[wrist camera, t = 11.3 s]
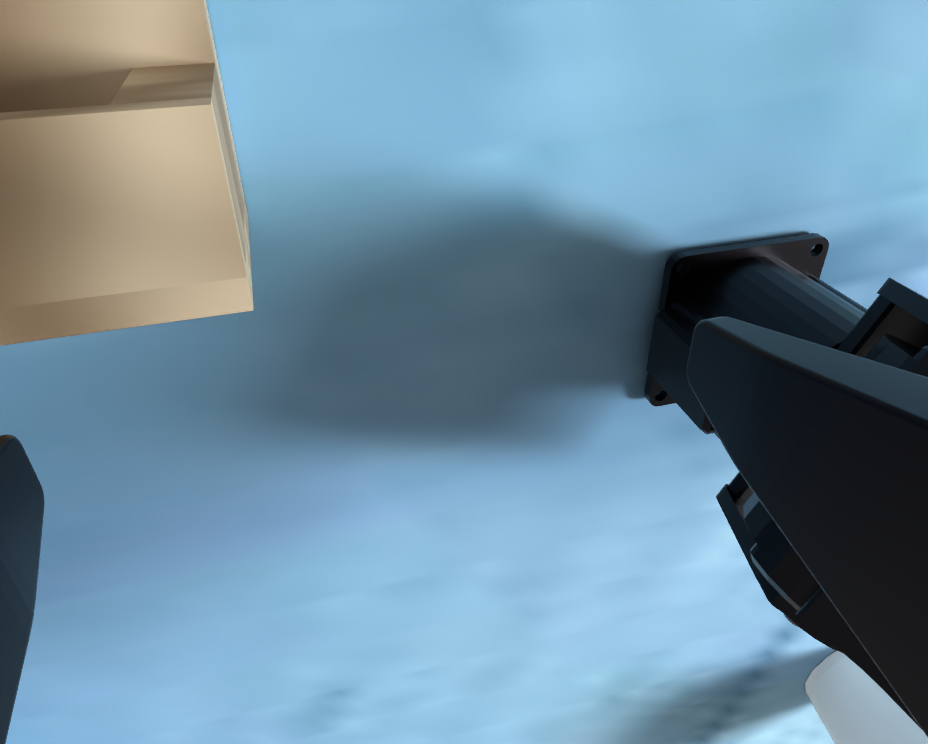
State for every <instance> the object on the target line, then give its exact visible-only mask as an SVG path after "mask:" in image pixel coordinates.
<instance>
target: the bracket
mask: <svg viewBox="0 0 928 744" xmlns="http://www.w3.org/2000/svg"><path fill="white" fill-rule="evenodd" d="M246 311H253V292H252V275H251V258H250V241H249V224H248V213H247V208H246V203H245V197H244V192H243V187H242V182H241V177H240V172H239V167H238V162H237V157H236V152H235V146H234V141H233V136H232V131H231V126H230V121H229V116H228V111H227V106H226V101H225V95H224V90H223V85H222V80H221V75H220V70H219V65H218V60H217V55H216V50H215V44H214V39H213V34H212V29H211V24H210V19H209V14H208V9H207V4H206V0H0V345H8V344H15V343H22V342H29V341H36V340H44V339H51V338H58V337H65V336H73V335H80V334H87V333H94V332H101V331H109V330H116V329H123V328H130V327H138V326H145V325H152V324H159V323H167V322H174V321H181V320H188V319H195V318H203V317H210V316H217V315H224V314H232V313H239V312H246Z"/></svg>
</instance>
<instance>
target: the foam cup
mask: <svg viewBox="0 0 928 744" xmlns="http://www.w3.org/2000/svg"><path fill="white" fill-rule="evenodd" d="M805 688H806V693H807V695H808V696H809V698H810V699H811V703H812V705H813V706H814V708H815V710H816V712H817V713H818V715H819V717H820V719H821V720H822V722H823V724H824V726H825V727H826V729H827V731H828V733H829V734H830V736H831V738H832V740H833V741H834V743H835V744H928V737H927V736H926V734H925V733H924V732H923V730H922V729H921V728H920V727H919V726H918V725H917V724H916V723H915V722H914V721H913V720H912V719H911V718H910V717H909V716H908V715H907V714H906V713H905V712H904V711H903V710H902V709H901V708H900V707H899V706H898V705H897V704H896V703H895V702H894V701H893V700H892V699H891V697H890V696H889V695H888V694H887V693H886V692H885V691H884V690H883V689H882V688H881V687H880V686H879V685H878V684H877V683H876V682H875V681H874V680H873V679H871V678H870V677H869V676H868V675H867V674H866V673H865V672H864V671H863V670H862V669H861V668H860V667H859V666H857V665H856V664H855V663H854V662H853V661H852V660H850V659H849V658H848V657H847V656H846V655H845V654H843V653H841V652H839V651H836V652H834V653H832V654H831V655H829V656H827V657H826V658H825V659H824V660H823V661H822V662H821V663H820V664H819V665H818V666H817V667H816V668H815V669H813V671H812V672H811V674H810V676H809V677H808V679H807V681H806V682H805Z"/></svg>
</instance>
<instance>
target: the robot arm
mask: <svg viewBox="0 0 928 744" xmlns="http://www.w3.org/2000/svg"><path fill="white" fill-rule="evenodd" d="M814 246H815V247H814ZM813 247H814V249H812V248H813ZM828 247H829V243H828V240H827V239H826V238H824V237H823V236H821V235H819V234H816V233H811V234H804V235H797V236H790V237H782V238H775V239H768V240H761V241H753V242H746V243H739V244H732V245H725V246H717V247H710V248H703V249H696V250H688V251H681V252H678V253H675V254H673V255H672V256H671V257H670V258H669V259H668V261H667V263H666V266H665V271H664V277H663V283H662V289H661V296H660V302H659V308H658V312H657V314H656V316H655V320H654V326H653V333H652V339H651V345H650V351H649V357H648V364H647V371H648V376H647V382H646V388H645V397H646V398H647V400H648V401H649V402H650V403H651V404H652V405H654V406H662V405H667V404H672V403H677V404H678V405H679V407H680V408H681V409H682V410H683V411H684V412H685V413H686V414H687V415H688V416H689V418H690V419H691V420H692V421H693V422H694V423H695V424H696V425H697V426H698V427H699V429H700V430H702V431H703V432H704V433H706V434H710V433H715V434H716V436H717V437H718V438H719V439H720V440H721V442H722V444H723V445H724V447H725V449H726V451H727V453H728V454H729V456H730V458H731V459H732V461H733V463H734V464H735V466H736V467H737V469H738V470H739V473H738V474H737V475H736V476H735V478H734V479H733V480H732V482H731V483H730V484H729V485H728V484H726V485H725V486H724V487H723V488H722V490H721V491H720V492H719V493H718V495H717V496H716V498H717V500H718V502H719V504H720V506H721V508H722V510H723V512H724V514H725V516H726V518H727V520H728V522H729V524H730V526H731V529H732V531H733V533H734V535H735V537H736V539H737V541H738V543H739V545H740V547H741V549H742V551H743V553H744V555H745V557H746V559H747V561H748V563H749V565H750V567H751V569H752V571H753V573H754V575H755V577H756V579H757V580H758V582H759V584H760V586H761V588H762V590H763V592H764V594H765V595H766V597H767V599H768V601H769V602H770V603H771V604H772V605H773V606H774V607H776V608H777V609H778V610H780V611H781V612H783V613H784V615H785V617H786V618H787V619H788V620H789V621H790V622H791V623H792V624H794V625H795V626H798V627H800V628H801V629H803V630H804V631H805V632H807V633H808V634H809V635H811V636H812V637H813V638H815V639H817V640H818V641H820V642H822V643H823V644H825V645H827V646H828V647H830V648H832V649H835V650H837V651H839V652H841V653H843V654H845V655H846V656H847V657H848V658H849V659H850V660H852V661H853V662H854V663H855V664H856V665H857V666H859V667H860V668H861V669H862V670H863V671H864V672H865V673H866V674H867V675H868V676H869V677H870V678H871V679H873V680H874V681H875V682H876V683H877V684H878V685H879V686H880V687H881V688H882V689H883V690H884V691H885V692H886V693H887V694H888V695H889V696H890V697H891V699H892V700H893V701H894V702H895V703H896V704H897V705H898V706H899V707H900V708H901V709H902V710H903V711H904V712H905V713H906V714H907V715H908V716H909V717H910V718H911V719H912V720H913V721H914V722H915V723H916V724H917V725H918V726H919V727H920V728H921V729H922V730H923V732H924V733H925V734H926V736H927V737H928V298H926V297H924V296H923V295H921V294H919V293H917V292H915V291H913V290H911V289H910V288H908V287H906V286H904V285H902V284H900V283H898V282H897V281H895V280H893V279H891V278H888V280H887V281H886V282H885V283H884V285H883V286H882V287H881V288H880V290H879V291H878V292H877V293H878V294H880V295H879V296H878V297H877V299H876V300H875V301H874V303H873V304H872V305H871V306H870V308H869V309H868V310H867V309H866V308H864V307H863V306H861V305H859V304H858V303H856V302H855V301H853V300H851V299H850V298H848V297H847V296H845V295H843V294H842V293H840V292H839V291H837V290H836V289H834V288H832V287H831V286H829V285H828V284H826V283H824V282H823V281H821V280H820V279H819V278H820V274H821V271H822V268H823V264H824V261H825V258H826V254H827V251H828ZM683 263H684V266H683V268H682V269H681V270H679V271H677V269H678V267H679V266H680V265H681V264H683ZM660 391H661V392H660ZM658 392H660V393H659V394H658V395H656V394H657V393H658ZM43 514H44V494H43V490H42V486H41V484H40V482H39V480H38V478H37V475H36V473H35V471H34V469H33V467H32V465H31V463H30V461H29V459H28V457H27V455H26V453H25V450H24V448H23V446H22V444H21V443H20V441H19V440H18V439H17V438H16V437H14V436H12V435H1V436H0V744H5V743H6V738H7V734H8V730H9V725H10V721H11V716H12V712H13V708H14V703H15V699H16V694H17V690H18V685H19V681H20V677H21V672H22V668H23V663H24V659H25V655H26V650H27V646H28V641H29V637H30V632H31V627H32V622H33V617H34V609H35V601H36V591H37V580H38V569H39V558H40V547H41V536H42V525H43Z"/></svg>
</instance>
